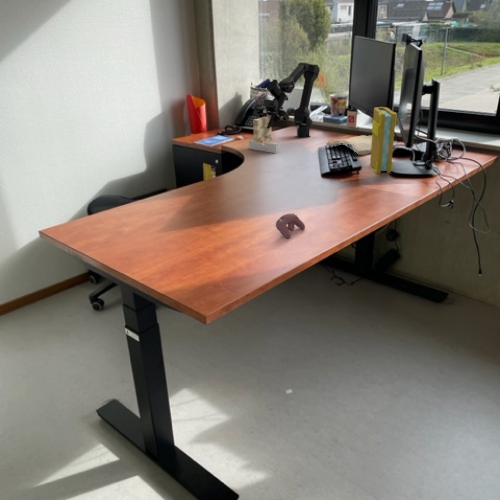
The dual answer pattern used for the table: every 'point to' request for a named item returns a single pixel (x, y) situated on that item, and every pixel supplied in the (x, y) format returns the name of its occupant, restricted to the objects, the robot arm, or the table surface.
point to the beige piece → (356, 143)
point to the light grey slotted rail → (264, 146)
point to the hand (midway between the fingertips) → (265, 127)
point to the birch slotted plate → (261, 130)
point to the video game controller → (289, 220)
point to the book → (382, 139)
